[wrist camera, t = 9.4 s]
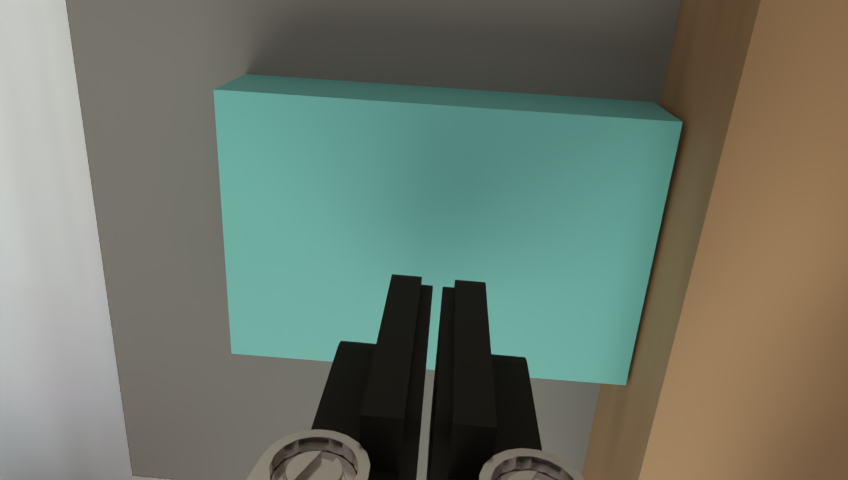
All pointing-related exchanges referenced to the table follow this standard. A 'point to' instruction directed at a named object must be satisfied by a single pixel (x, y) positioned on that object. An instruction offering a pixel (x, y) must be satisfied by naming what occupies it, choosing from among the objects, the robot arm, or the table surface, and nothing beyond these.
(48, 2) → the table surface
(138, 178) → the mat
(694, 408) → the deck
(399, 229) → the rectangular block
